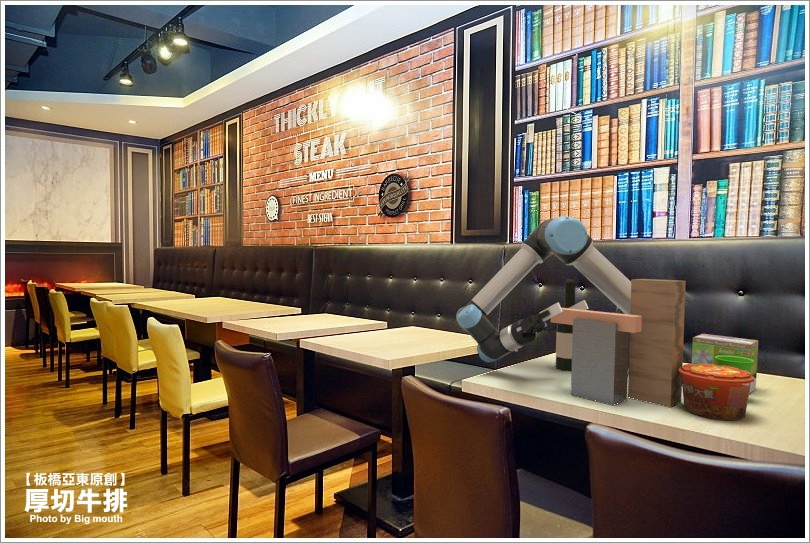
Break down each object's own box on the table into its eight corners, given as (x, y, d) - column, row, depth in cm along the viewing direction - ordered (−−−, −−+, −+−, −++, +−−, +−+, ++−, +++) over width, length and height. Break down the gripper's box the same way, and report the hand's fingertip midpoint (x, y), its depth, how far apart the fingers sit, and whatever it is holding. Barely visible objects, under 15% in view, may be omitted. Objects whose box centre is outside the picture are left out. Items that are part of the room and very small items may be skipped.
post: (639, 393, 143) (643, 278, 142) (681, 402, 135) (685, 280, 133) (627, 397, 138) (631, 279, 137) (670, 407, 130) (674, 281, 129)
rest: (585, 390, 145) (587, 316, 144) (627, 400, 136) (629, 321, 135) (570, 395, 140) (573, 318, 139) (613, 405, 131) (615, 323, 130)
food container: (694, 399, 137) (696, 360, 137) (763, 415, 125) (765, 371, 124) (664, 409, 128) (666, 367, 128) (736, 428, 115) (738, 380, 115)
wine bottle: (550, 366, 176) (552, 279, 175) (573, 365, 178) (575, 279, 177) (562, 371, 168) (564, 280, 167) (585, 371, 170) (588, 280, 168)
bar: (558, 321, 149) (558, 307, 149) (641, 331, 131) (641, 315, 131) (550, 322, 146) (551, 308, 146) (634, 332, 128) (634, 316, 128)
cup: (759, 404, 133) (761, 362, 133) (721, 402, 135) (722, 361, 135) (743, 395, 142) (745, 356, 142) (708, 393, 144) (709, 354, 144)
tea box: (689, 385, 153) (691, 336, 152) (699, 379, 160) (701, 332, 160) (749, 395, 142) (751, 343, 142) (757, 389, 149) (759, 339, 149)
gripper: (546, 342, 164) (601, 314, 150) (497, 350, 148) (554, 321, 134) (537, 320, 167) (590, 292, 153) (487, 327, 150) (542, 295, 136)
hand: (573, 305), depth 143 cm, fingers open, 13 cm apart
